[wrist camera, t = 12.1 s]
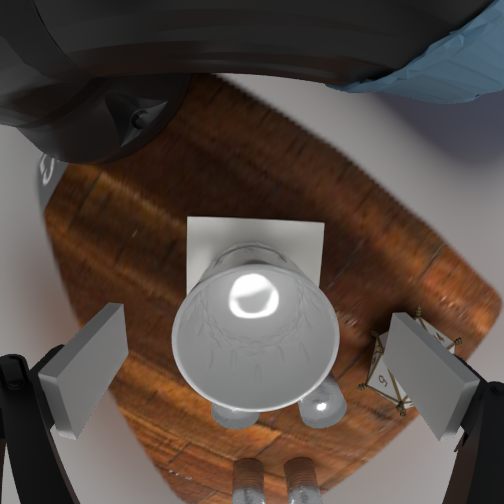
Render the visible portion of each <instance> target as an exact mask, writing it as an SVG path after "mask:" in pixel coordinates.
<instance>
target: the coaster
mask: <svg viewBox="0 0 504 504" xmlns="http://www.w3.org/2000/svg"><path fill="white" fill-rule="evenodd" d="M323 236H324V223H323V222H314V221H297V220H278V219H258V218H236V217H210V216H188V219H187V295H188V294H189V292H190V291H191V290H192V288H193V287H194V285H195V284H196V282H197V281H198V279H199V278H200V277H201V275H202V273H203V272H204V271H205V270H206V268H207V267H208V266H209V265H210V264H211V263H212V262H213V261H214V260H215V259H216V258H217V256H218V255H219V254H220V253H221V252H223V251H225V250H226V249H228V248H230V247H232V246H233V245H235V244H237V243H245V242H261V243H264V244H267V245H269V246H272V247H274V248H277V249H279V250H280V252H281V253H283V254H284V255H286V256H287V257H288V258H290V259H291V260H292V261H293V262H294V263H295V264H296V265H297V266H298V267H299V268H300V269H301V270H302V271H303V272H304V273H305V274H306V275H307V276H308V277H309V278H310V279H311V281H312V282H313V283H314V284H315V285H316V286H317V287H318V288H319V280H320V270H321V259H322V248H323Z"/></svg>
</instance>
